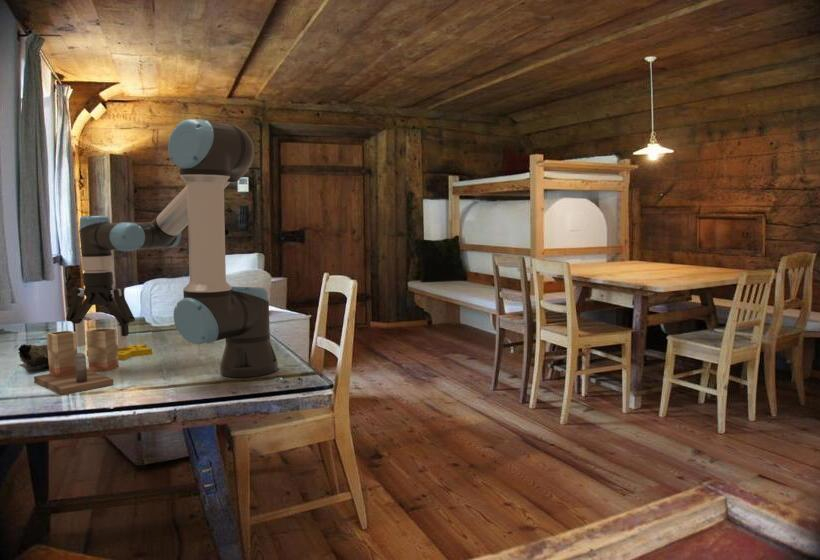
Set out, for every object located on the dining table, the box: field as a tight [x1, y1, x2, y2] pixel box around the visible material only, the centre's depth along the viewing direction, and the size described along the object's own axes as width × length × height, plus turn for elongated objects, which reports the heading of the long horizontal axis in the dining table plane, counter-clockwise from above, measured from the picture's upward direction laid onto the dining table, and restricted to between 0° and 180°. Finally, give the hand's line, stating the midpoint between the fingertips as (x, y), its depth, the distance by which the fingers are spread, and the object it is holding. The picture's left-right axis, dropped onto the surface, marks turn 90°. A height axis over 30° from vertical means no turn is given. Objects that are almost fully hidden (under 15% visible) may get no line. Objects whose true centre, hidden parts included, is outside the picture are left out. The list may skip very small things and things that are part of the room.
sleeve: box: [85, 327, 120, 372], centre depth 178 cm, size 5×5×11 cm
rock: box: [17, 343, 49, 368], centre depth 185 cm, size 18×10×15 cm
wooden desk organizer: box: [33, 330, 114, 396], centre depth 162 cm, size 20×12×12 cm, turn 47°
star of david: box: [86, 343, 153, 362], centre depth 198 cm, size 20×17×2 cm
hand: (101, 346), depth 179 cm, fingers open, 13 cm apart
